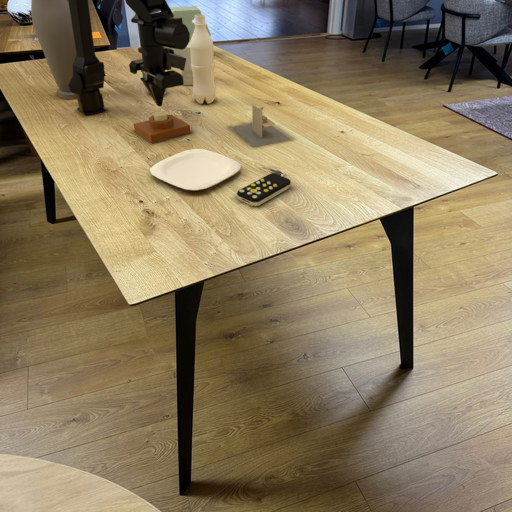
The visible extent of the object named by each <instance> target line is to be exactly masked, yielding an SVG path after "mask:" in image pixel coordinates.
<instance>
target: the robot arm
mask: <svg viewBox="0 0 512 512" xmlns="http://www.w3.org/2000/svg"><path fill="white" fill-rule="evenodd" d="M124 1H125V4H126V5H127V6H128V7H129V8H130V9H131V10H132V12H134V15H133V17H132V18H131V19H130V22H131V23H133V24H137V29H138V36H139V37H138V38H139V44H140V47H137V52H138V53H139V54H141V58H139V59H133V60H131V61H130V63H129V64H128V67H129V72H130V73H131V74H133V75H137V74H138V71H140V72H141V73H142V77H140V78H139V79H140V81H141V82H142V83H143V85H144V86H145V88H146V90H147V92H148V93H149V95H150V96H151V98H152V100H153V102H154V103H155V105H156V106H157V107H162V105H163V102H164V97H165V94H164V92H165V89H170V88H175V87H180V86H184V85H183V84H184V80H183V76H182V73H180V72H178V71H177V70H172V68H174V69H178V70H180V71H181V70H182V71H184V69H185V64H186V59H187V58H184V57H182V56H180V55H177V54H174V50H173V49H170V48H174V49H179V50H183V49H185V48H186V47H187V45H188V43H189V39H190V32H189V31H188V28H187V26H186V25H185V24H183V20H182V18H180V17H177V18H174V15H173V13H172V11H171V7H170V6H169V3H168V2H167V0H124ZM67 2H68V4H69V8H70V15H71V21H72V28H73V34H74V41H75V47H76V58H75V60H74V63H73V77H72V79H71V81H70V83H69V85H68V86H69V89H70V91H71V92H72V93H75V94H76V96H77V98H76V100H77V105H78V107H77V110H78V111H79V112H80V113H82V114H83V115H84V116H89V115H93V114H98V113H103V112H106V108H105V103H104V98H103V93H101V91H100V90H101V89H104V85H105V79H106V76H107V75H106V71H105V64H104V62H103V61H100V59H99V58H98V57H97V55H96V51H95V50H96V49H95V44H94V43H95V42H94V36H93V28H92V19H91V11H90V5H89V0H67ZM182 71H181V72H182Z"/></svg>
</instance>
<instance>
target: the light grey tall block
mask: <svg viewBox="0 0 512 512" xmlns="http://www.w3.org/2000/svg"><path fill="white" fill-rule="evenodd" d="M179 51H180V56H182V57H184V58H187V59H186V64H185V69H184V71H182V70H180V71H181V75H182V76H183V80H184V84H183V85H182V86H193V72H192V68H191V53H190V42H189V43H188V45H187V47H186V48H185V49H183V50H179Z"/></svg>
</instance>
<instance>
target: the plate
mask: <svg viewBox="0 0 512 512" xmlns="http://www.w3.org/2000/svg"><path fill="white" fill-rule="evenodd" d="M241 169H242V165H241V164H240V163H239V162H238V161H237V160H235V159H233V158H231V157H228V156H226V155H223V154H220V153H218V152H215V151H212V150H208V149H202V148H192V149H185V150H184V151H180V152H178V153H175V154H172V155H171V156H169V157H167V158H165V159H162V160H160V161H158V162H157V163H155V164H153V165H152V167H150V169H149V172H150V174H151V176H153V177H155V178H156V179H158V180H159V181H161V182H164V183H166V184H168V185H170V186H173V187H175V188H176V189H177V188H178V189H181V190H184V191H191V192H199V191H203V190H207V189H210V188H213V187H214V186H215V187H216V186H218V185H219V184H220V183H223V182H225V181H227V180H228V179H230V178H231V177H234V175H236V174H237V173H239V172H240V170H241Z"/></svg>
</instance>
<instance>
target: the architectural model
mask: <svg viewBox="0 0 512 512" xmlns="http://www.w3.org/2000/svg"><path fill="white" fill-rule="evenodd" d="M251 108H252V109H251V110H252V114H251V115H252V119H251V120H252V121H251V123H245V124H240V125H235V126H230V129H231V130H233V132H235V133H236V134H238V136H240V137H241V138H242V139H243V140H245V142H247V143H248V144H249V145H251V146H252V147H253V148H257V147H260V146H261V147H262V146H265V145H270V144H276V143H280V142H285V141H289V140H291V138H290V137H289V136H288V135H286V134H285V133H283V132H282V131H280V130H279V129H278V128H276V127H275V126H276V123H275V122H274V121H272V120H270V119H269V118H268V116H266V115H265V114H264V113H263V110H264V108H265V106H260V107H258V106H257V105H255V104H254V103H252V107H251Z"/></svg>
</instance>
